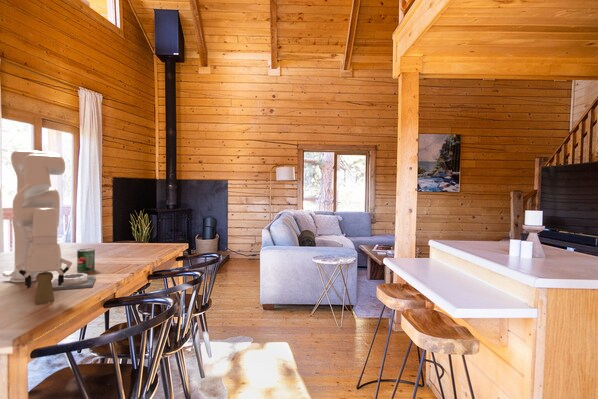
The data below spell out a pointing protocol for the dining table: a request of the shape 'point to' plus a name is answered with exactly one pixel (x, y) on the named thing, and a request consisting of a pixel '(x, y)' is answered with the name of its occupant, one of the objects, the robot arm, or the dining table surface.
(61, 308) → the dining table surface
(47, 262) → the robot arm
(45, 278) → the olive tapered shaker
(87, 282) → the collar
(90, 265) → the canned tomato
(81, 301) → the dining table surface
